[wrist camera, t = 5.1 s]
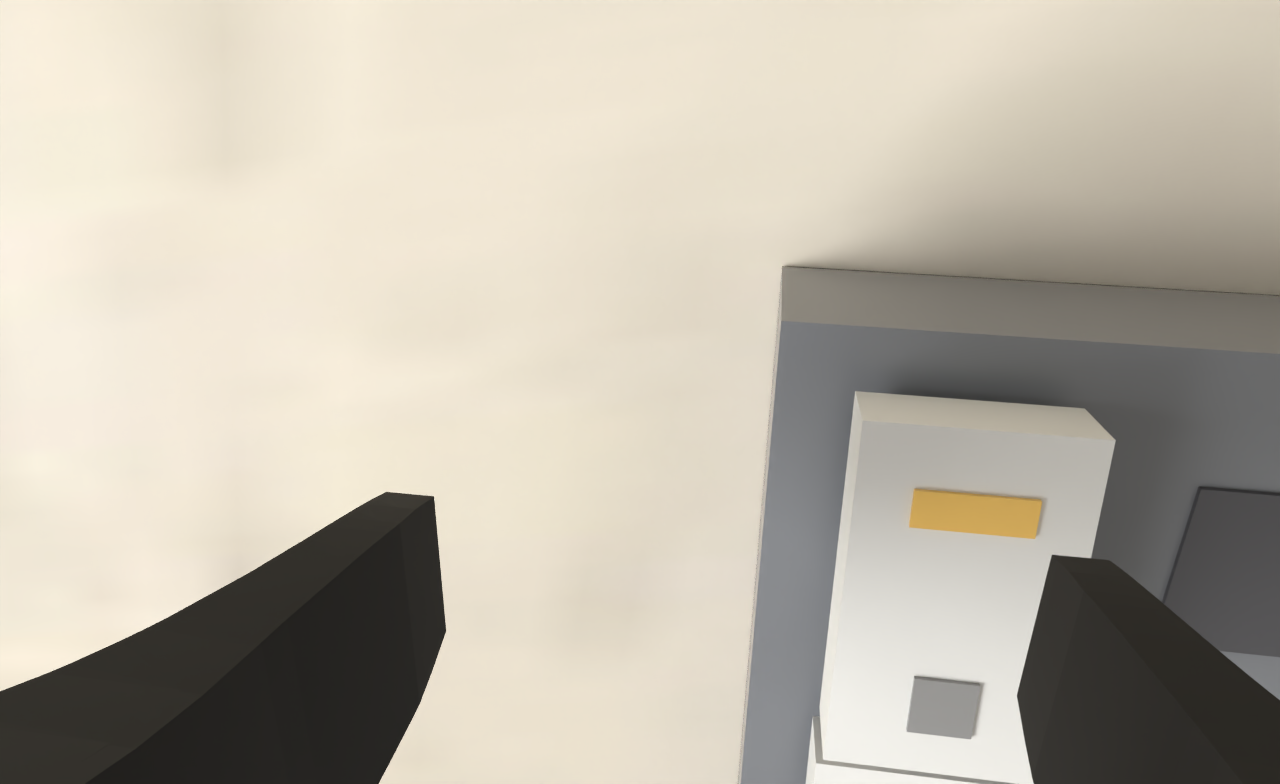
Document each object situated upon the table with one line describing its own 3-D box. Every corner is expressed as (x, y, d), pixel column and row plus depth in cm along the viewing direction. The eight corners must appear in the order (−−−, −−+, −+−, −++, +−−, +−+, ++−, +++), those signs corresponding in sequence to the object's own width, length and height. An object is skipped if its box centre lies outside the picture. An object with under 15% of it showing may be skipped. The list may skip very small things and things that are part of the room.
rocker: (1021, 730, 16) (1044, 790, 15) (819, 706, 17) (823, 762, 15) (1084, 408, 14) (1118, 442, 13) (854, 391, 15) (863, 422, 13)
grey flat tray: (1077, 1044, 26) (1112, 1174, 23) (720, 988, 27) (712, 1106, 24) (1346, 299, 16) (1461, 368, 14) (782, 266, 18) (780, 323, 15)
